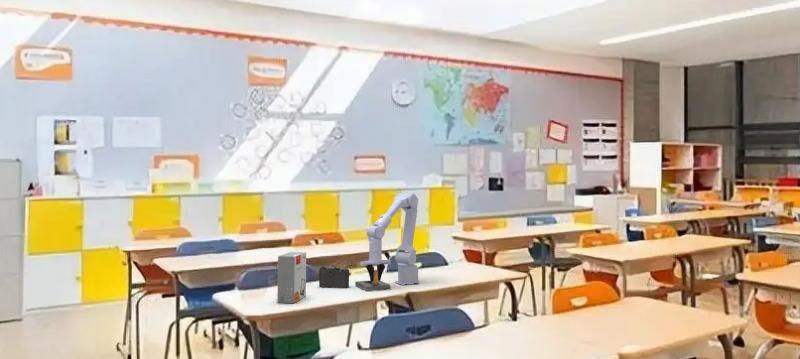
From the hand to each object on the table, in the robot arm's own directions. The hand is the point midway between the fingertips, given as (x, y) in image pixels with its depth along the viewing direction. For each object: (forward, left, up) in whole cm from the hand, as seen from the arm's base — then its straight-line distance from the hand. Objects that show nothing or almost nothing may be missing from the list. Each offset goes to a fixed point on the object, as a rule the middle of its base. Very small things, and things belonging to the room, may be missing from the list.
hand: (375, 280), depth 321 cm
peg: (0, 0, -3) cm, 3 cm away
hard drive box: (+42, +8, -4) cm, 43 cm away
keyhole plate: (0, -3, -4) cm, 5 cm away
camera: (+15, -14, -4) cm, 21 cm away
